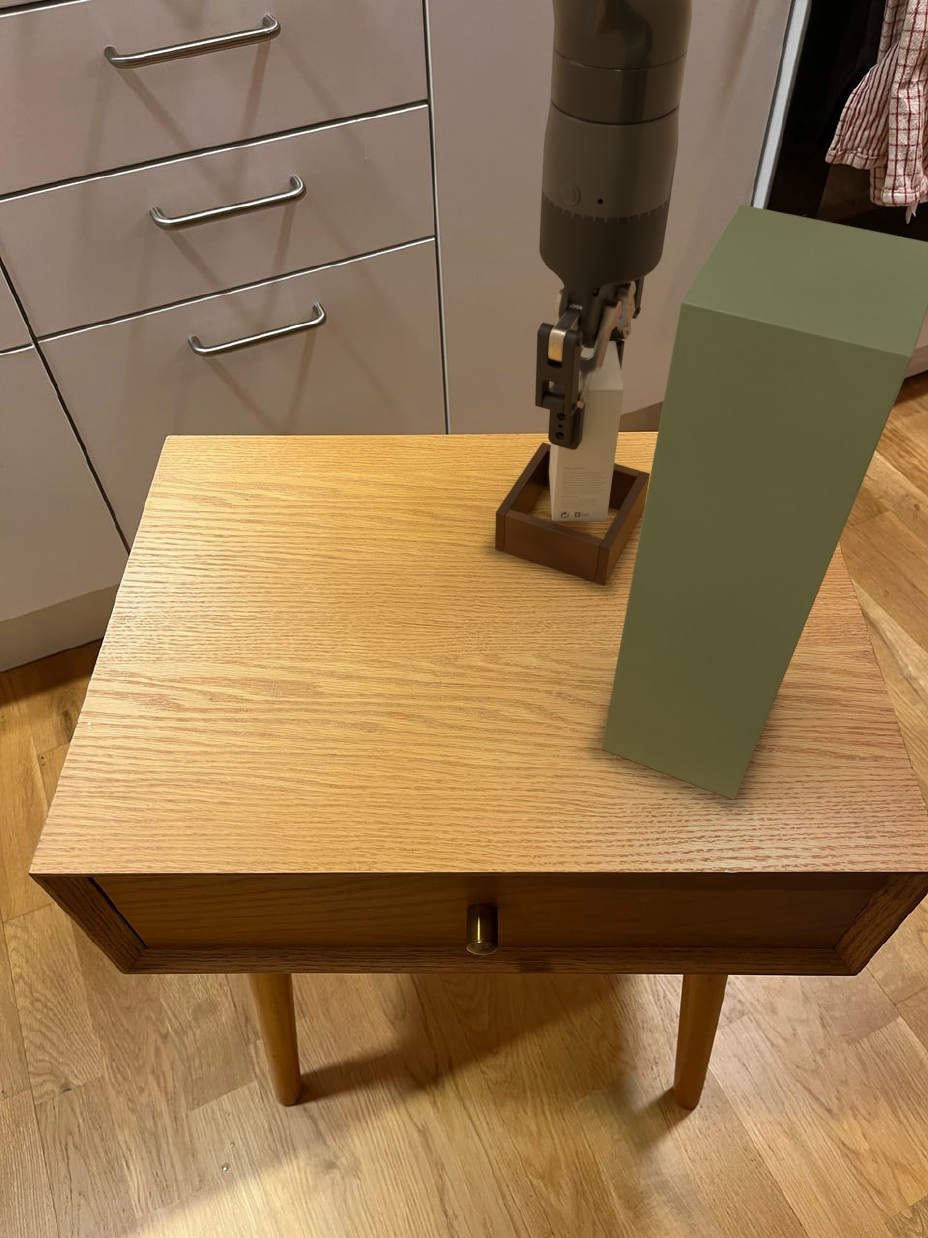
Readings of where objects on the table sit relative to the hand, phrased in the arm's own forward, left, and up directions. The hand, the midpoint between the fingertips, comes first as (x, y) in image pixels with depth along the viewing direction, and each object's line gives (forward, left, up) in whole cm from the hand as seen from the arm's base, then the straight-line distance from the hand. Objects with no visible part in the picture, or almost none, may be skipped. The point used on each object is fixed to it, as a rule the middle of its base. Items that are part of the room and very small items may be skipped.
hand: (584, 412), depth 68 cm
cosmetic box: (0, 0, -8) cm, 8 cm away
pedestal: (-14, +14, -12) cm, 23 cm away
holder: (0, 0, -12) cm, 12 cm away
